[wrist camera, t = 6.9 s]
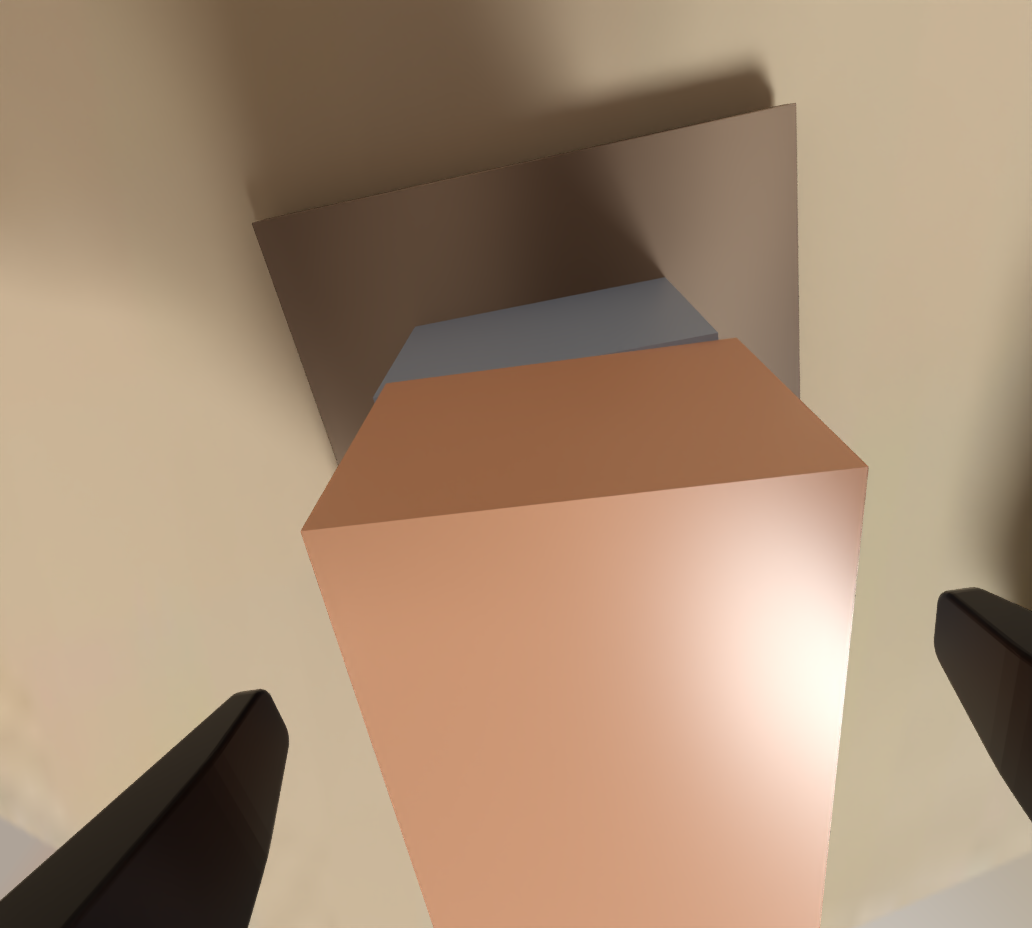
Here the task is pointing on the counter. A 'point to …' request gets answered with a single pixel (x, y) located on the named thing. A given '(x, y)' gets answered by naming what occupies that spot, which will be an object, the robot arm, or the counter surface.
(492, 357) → the base brick
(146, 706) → the counter surface
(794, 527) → the terracotta brick
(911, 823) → the counter surface
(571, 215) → the walnut board
